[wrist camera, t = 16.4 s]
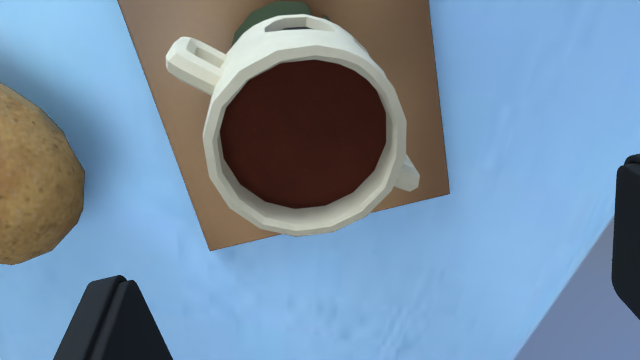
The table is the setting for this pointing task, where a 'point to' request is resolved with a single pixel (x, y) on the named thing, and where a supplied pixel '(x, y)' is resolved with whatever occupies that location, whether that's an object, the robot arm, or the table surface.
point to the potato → (35, 181)
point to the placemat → (218, 31)
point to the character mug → (297, 121)
